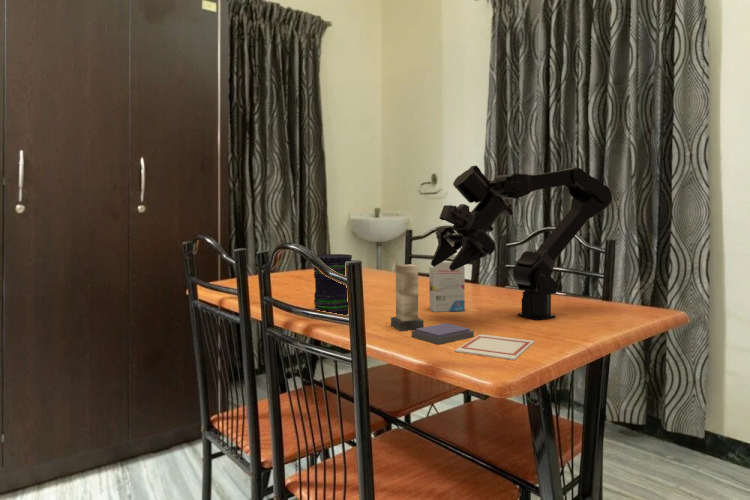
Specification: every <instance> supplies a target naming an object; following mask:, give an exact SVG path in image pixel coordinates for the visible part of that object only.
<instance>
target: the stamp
mask: <svg viewBox="0 0 750 500" xmlns="http://www.w3.org/2000/svg"><path fill="white" fill-rule="evenodd" d="M424 322H425V321H424V319H422V318H419V266H418V265H416V264H409V263H408V264H395V316H394V317H393V316H392V317H390V326H391V327H392V326H393V327H394V329H395V328H396V329H395V330H397V329H398V330H399V331H398V330H397V331H398V332H406V331H408V330H410V331H415V330H416V329H417V328H423V327H425V326H424ZM393 327H392V328H393Z"/></svg>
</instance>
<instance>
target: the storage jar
mask: <svg viewBox="0 0 750 500" xmlns="http://www.w3.org/2000/svg"><path fill="white" fill-rule="evenodd" d="M316 256H317V257H318V258H320V259H321V260H322V261H323V262H324V263H325V264H326V265H327V266H329V267H330V268H331V269H333V270H334V271H336V272H338V273H340V274H343V275H345V262H346V261H352V258H353V255H352V254H343V253H342V254H341V253H332V254H329V253H328V254H327V253H326V254H325V253H324V254H317V255H316ZM313 271H314V272H313V278H314V285H315V286H314V287H315V292H314V300H313V303H314V311H315V310H320V311H326V312H332V313H337V314H343V315H347V314H348V302H347V288H346V286H345V285H343V284H340V283H338V282H336V281H334V280H332V279H330V278H328V277H326V276H325V275H324V274H322V273H321V272H320V271H319V270H318V269H317V268H315V267H314V266H313Z"/></svg>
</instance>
